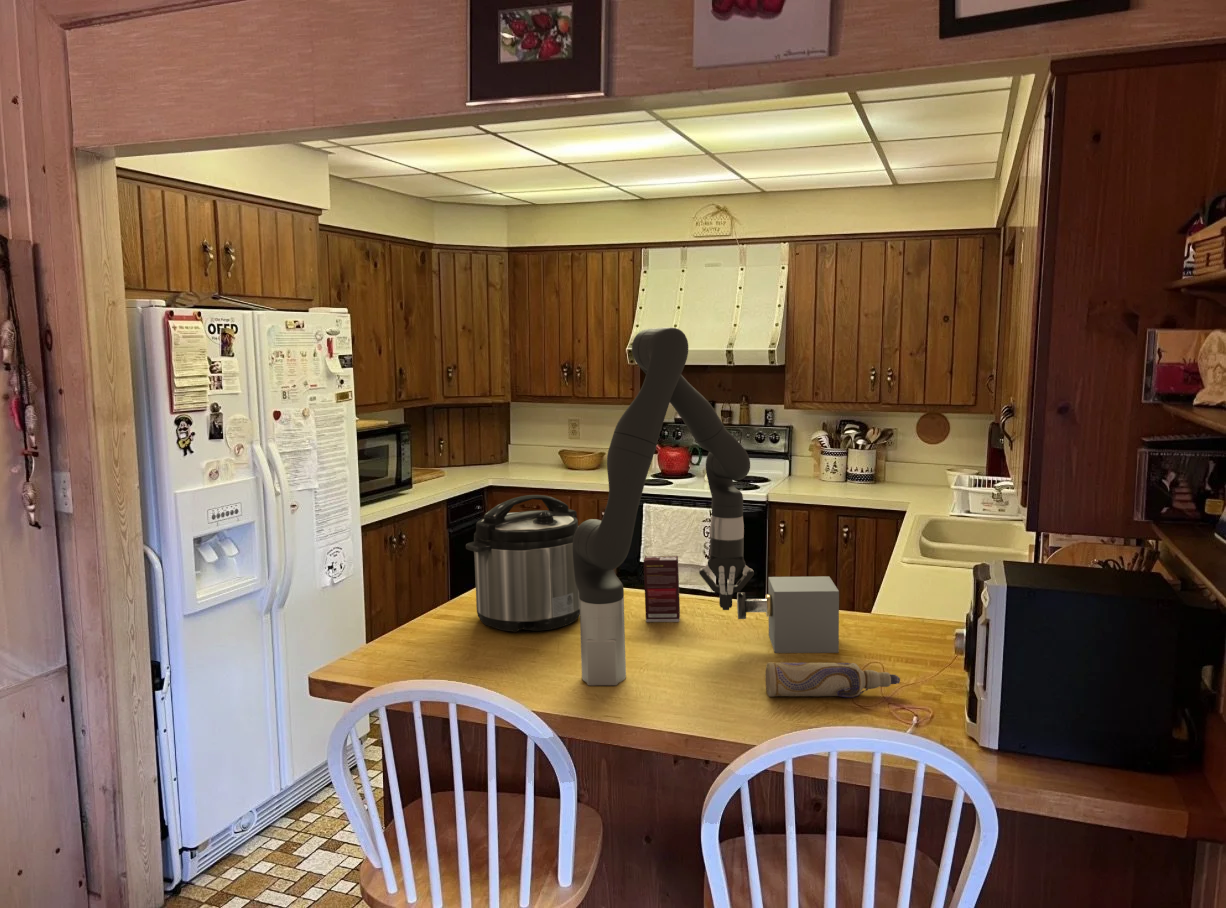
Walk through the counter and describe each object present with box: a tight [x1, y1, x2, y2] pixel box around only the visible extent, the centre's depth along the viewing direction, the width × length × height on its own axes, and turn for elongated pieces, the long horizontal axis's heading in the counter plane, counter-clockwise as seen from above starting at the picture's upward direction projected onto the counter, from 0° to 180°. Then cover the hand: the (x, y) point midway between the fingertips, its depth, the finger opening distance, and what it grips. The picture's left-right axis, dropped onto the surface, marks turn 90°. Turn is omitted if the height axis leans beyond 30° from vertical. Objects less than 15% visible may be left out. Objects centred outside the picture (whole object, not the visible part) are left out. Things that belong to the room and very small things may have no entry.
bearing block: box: [767, 575, 840, 654], centre depth 202 cm, size 12×14×14 cm
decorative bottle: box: [764, 661, 901, 699], centre depth 174 cm, size 26×8×7 cm, turn 87°
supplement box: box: [643, 555, 681, 623], centre depth 222 cm, size 9×5×16 cm, turn 84°
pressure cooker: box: [465, 494, 580, 632], centre depth 225 cm, size 30×28×32 cm
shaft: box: [736, 591, 772, 620], centre depth 202 cm, size 6×21×6 cm, turn 86°
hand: (725, 609), depth 203 cm, fingers closed
